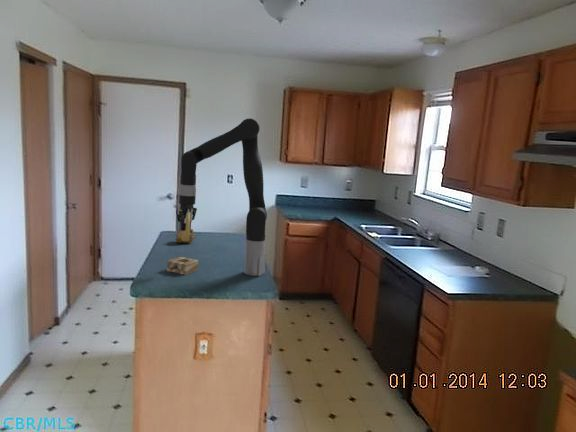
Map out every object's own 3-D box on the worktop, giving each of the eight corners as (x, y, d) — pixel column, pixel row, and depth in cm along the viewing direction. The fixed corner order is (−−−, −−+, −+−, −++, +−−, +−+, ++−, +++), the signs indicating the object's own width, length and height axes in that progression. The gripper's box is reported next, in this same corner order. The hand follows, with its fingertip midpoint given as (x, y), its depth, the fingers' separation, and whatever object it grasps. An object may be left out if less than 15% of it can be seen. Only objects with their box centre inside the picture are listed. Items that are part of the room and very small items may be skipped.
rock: (180, 240, 279) (180, 224, 277) (196, 242, 277) (196, 226, 276) (172, 244, 267) (173, 228, 265) (189, 246, 266) (189, 229, 264)
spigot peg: (190, 240, 215) (192, 211, 212) (185, 241, 211) (187, 212, 209) (184, 239, 216) (185, 210, 214) (179, 240, 213) (181, 211, 210)
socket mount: (198, 270, 220) (198, 260, 219) (181, 276, 208) (181, 266, 207) (179, 266, 224) (180, 256, 223) (162, 272, 212) (162, 262, 211)
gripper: (185, 196, 202) (183, 233, 205) (202, 194, 215) (200, 229, 218) (171, 194, 205) (169, 230, 208) (189, 192, 218) (187, 226, 221)
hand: (185, 229), depth 213 cm, fingers closed on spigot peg, 3 cm apart
